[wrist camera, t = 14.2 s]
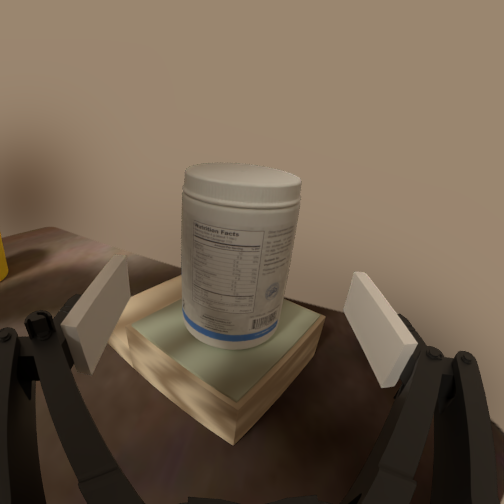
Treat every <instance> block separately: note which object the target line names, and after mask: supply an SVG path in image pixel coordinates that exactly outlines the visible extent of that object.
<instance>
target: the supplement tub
mask: <svg viewBox="0 0 504 504" xmlns="http://www.w3.org/2000/svg"><path fill="white" fill-rule="evenodd" d="M184 180H185V181H184V185H183V193H182V229H181V231H182V232H181V239H182V240H181V275H182V311H183V321H184V324H185V326H186V328H187V329H188V331H189V332H190V333H191V334H192V335H193V336H194V337H195V338H197V339H198V340H200V341H201V342H203V343H205V344H207V345H210V346H213V347H216V348H220V349H227V350H242V349H248V348H252V347H255V346H258V345H260V344H262V343H264V342H265V341H267V340H268V339H269V338H270V337H271V336H272V335H273V334H274V333H275V331H276V329H277V327H278V323H279V319H280V314H281V309H282V304H283V298H284V293H285V288H286V283H287V278H288V272H289V267H290V261H291V255H292V250H293V244H294V239H295V233H296V227H297V221H298V215H299V209H300V200H301V196H300V191H301V183H302V181H301V179H300V178H299V177H298V176H296V175H294V174H291V173H289V172H285V171H282V170H279V169H275V168H270V167H264V166H258V165H250V164H240V163H205V164H197V165H193V166H190V167H188V168H187V169H186V170H185V179H184Z"/></svg>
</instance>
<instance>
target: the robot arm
mask: <svg viewBox="0 0 504 504" xmlns="http://www.w3.org/2000/svg"><path fill="white" fill-rule="evenodd" d="M130 297H131V294H130V285H129V275H128V265H127V255H116V254H115V255H114V256H113V257H112V258H111V259H110V261H109V262H108V263H107V264H106V265H105V267H104V268H103V269H102V270H101V272H100V273H99V274H98V275H97V277H96V278H95V279H94V280H93V282H92V283H91V284H90V285H89V287H88V288H87V289H86V291H85V292H84V293H83V295H78V294H76V295H74V296H73V297H71V298H70V299H68V300H67V302H66V303H65V304H64V307H62V308H61V309H60V311H59V312H58V313H57V315H56V316H55V317H54V319H52V315H51V314H50V313H49V312H47V311H43V310H40V311H35V312H33V313H31V314H30V315H28V316H27V318H26V319H25V323H24V324H25V326H26V329H27V332H28V334H29V337H18V334H17V332H16V331H15V329H13V328H8V327H7V328H3V329H1V330H0V504H46V500H45V495H44V490H43V484H42V478H41V471H40V464H39V455H38V445H37V432H36V408H35V388H36V381H40V382H41V386H42V389H43V393H44V396H45V399H46V402H47V405H48V408H49V411H50V414H51V417H52V420H53V423H54V426H55V428H56V431H57V433H58V436H59V438H60V441H61V443H62V446H63V448H64V450H65V453H66V455H67V457H68V459H69V462H70V464H71V466H72V468H73V470H74V472H75V474H76V476H77V478H78V481H79V483H78V486H79V489H80V491H81V493H82V495H83V497H84V498H85V500H86V502H87V504H145V503H144V502H143V500H142V499H141V498H140V496H139V495H138V494H137V492H136V491H135V489H134V488H133V486H132V485H131V484H130V482H129V481H128V479H127V478H126V476H125V475H124V473H123V471H122V470H121V468H120V467H119V465H118V464H117V462H116V460H115V459H114V457H113V455H112V454H111V452H110V450H109V448H108V447H107V445H106V443H105V441H104V440H103V438H102V436H101V434H100V432H99V430H98V428H97V427H96V425H95V423H94V421H93V419H92V417H91V415H90V413H89V411H88V409H87V406H86V404H85V402H84V400H83V398H82V396H81V393H80V391H79V389H78V386H77V384H76V382H75V379H74V377H73V374H72V372H71V368H72V366H73V364H74V365H75V367H76V370H77V372H78V373H83V374H87V375H91V376H92V374H93V372H94V370H95V367H96V365H97V363H98V361H99V359H100V357H101V355H102V353H103V350H104V348H105V346H106V344H107V342H108V340H109V338H110V336H111V334H112V332H113V330H114V328H115V326H116V324H117V322H118V320H119V318H120V316H121V314H122V313H123V311H124V309H125V307H126V305H127V303H128V301H129V299H130ZM343 311H344V313H345V315H346V317H347V319H348V321H349V323H350V325H351V327H352V329H353V331H354V333H355V335H356V337H357V339H358V341H359V343H360V345H361V347H362V349H363V351H364V353H365V355H366V357H367V359H368V361H369V363H370V365H371V367H372V369H373V371H374V373H375V376H376V378H377V380H378V382H379V384H380V386H381V388H386V387H393V386H395V385H396V383H397V381H398V379H399V378H400V379H401V381H402V385H401V387H400V388H399V390H398V392H397V393H396V395H395V396H394V399H395V401H394V403H393V406H392V408H391V411H390V413H389V415H388V418H387V420H386V422H385V424H384V427H383V429H382V431H381V433H380V435H379V437H378V439H377V441H376V443H375V445H374V447H373V449H372V451H371V453H370V455H369V457H368V459H367V461H366V463H365V465H364V466H363V468H362V470H361V472H360V474H359V475H358V477H357V479H356V480H355V482H354V484H353V486H352V487H351V489H350V491H349V492H348V494H347V495H346V496H345V498H344V499H343V500H342V501H341V502H340V503H339V504H409V503H410V501H411V499H412V496H413V494H414V491H415V489H416V485H417V482H416V481H414V480H413V478H414V475H415V472H416V469H417V466H418V464H419V461H420V458H421V455H422V452H423V449H424V446H425V442H426V439H427V436H428V432H429V429H430V425H431V421H432V418H433V414H434V465H433V480H432V491H431V501H430V504H500V502H499V498H498V495H497V472H496V459H495V450H494V441H493V434H492V428H491V422H490V416H489V411H488V406H487V401H486V396H485V392H484V387H483V383H482V379H481V375H480V371H479V368H478V364H477V361H476V359H475V357H473V355H472V354H470V353H469V352H466V351H459V352H458V353H457V354H456V356H455V357H454V358H446V357H444V355H443V354H442V352H441V351H440V350H438V349H437V348H435V347H431V346H426V344H425V343H424V341H423V340H422V338H421V337H420V336H419V334H418V333H417V332H416V331H415V329H414V328H413V327H412V325H411V323H410V322H409V321H408V320H407V319H406V318H405V317H404V316H402V315H401V314H397V313H396V312H395V311H394V309H393V308H392V307H391V305H390V304H389V303H388V301H387V300H386V299H385V297H384V296H383V295H382V293H381V292H380V291H379V289H378V288H377V287H376V286H375V284H374V283H373V282H372V281H371V279H370V278H369V276H368V275H367V274H366V273H365V272H354V274H353V278H352V282H351V285H350V289H349V292H348V295H347V299H346V302H345V305H344V309H343ZM180 504H239V503H234V502H230V501H226V500H222V499H209V498H197V497H188V502H187V503H180ZM267 504H331V503H328V502H322V501H318V499H317V495H311V496H303V497H293V498H285V499H282V500H278V501H275V502H271V503H267Z"/></svg>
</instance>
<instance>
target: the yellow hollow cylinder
mask: <svg viewBox="0 0 504 504" xmlns="http://www.w3.org/2000/svg"><path fill="white" fill-rule="evenodd" d="M7 274H8V266H7V262H6V258H5V253H4V248H3V244H2V238H1V233H0V281H2V280H3V279H4V278H5V277H6V276H7Z"/></svg>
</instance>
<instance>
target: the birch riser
mask: <svg viewBox="0 0 504 504" xmlns="http://www.w3.org/2000/svg"><path fill="white" fill-rule="evenodd" d="M325 318H326V317H325V316H323V315H321V314H318V313H316V312H314V311H311V310H309V309H307V308H304V307H302V306H300V305H297V304H295V303H293V302H290V301H288V300H286V299H283V304H282V309H281V314H280V319H279V323H278V327H277V329H276V331H275V333H274V334H273V335H272V336H271V337H270V338H269V339H268V340H267V341H265V342H264V343H262V344H260V345H258V346H255V347H252V348H248V349H242V350H227V349H220V348H216V347H213V346H210V345H207V344H205V343H203V342H201V341H200V340H198V339H197V338H195V337H194V336H193V335H192V334H191V333H190V332H189V331H188V329H187V328H186V326H185V324H184V321H183V311H182V275H179V276H177V277H175V278H172V279H170V280H168V281H166V282H163V283H161V284H159V285H157V286H154V287H152V288H150V289H148V290H145V291H143V292H141V293H139V294H136V295H134V296H132V297H130V299H129V301H128V303H127V305H126V307H125V309H124V311H123V313H122V314H121V316H120V318H119V320H118V322H117V324H116V326H115V328H114V330H113V332H112V334H111V336H110V338H109V340H108V342H107V343H108V344H109V345H110V346H111V347H112V348H113V349H114V350H115V351H116V352H117V353H118V354H120V355H121V356H122V357H123V358H124V359H125V360H126V361H127V362H128V363H129V364H130V365H131V366H132V367H133V368H134V369H135V370H136V371H138V372H139V373H140V374H141V375H142V376H143V377H144V378H145V379H146V380H148V381H149V382H150V383H151V384H152V385H153V386H154V387H156V388H157V389H158V390H159V391H160V392H161V393H163V394H164V395H165V396H166V397H168V398H169V399H170V400H171V401H172V402H174V403H175V404H176V405H177V406H179V407H180V408H181V409H183V410H184V411H185V412H186V413H188V414H189V415H190V416H192V417H193V418H194V419H196V420H197V421H198V422H200V423H201V424H202V425H204V426H205V427H207V428H208V429H209V430H211V431H212V432H214V433H215V434H217V435H218V436H220V437H221V438H222V439H224V440H225V441H227V442H228V443H230V444H231V445H233V446H234V445H235V444H236V443H237V442H238V441H239V440H240V439H241V438H242V437H243V436H244V434H245V433H246V432H247V431H248V430H249V429H250V428H251V427H252V426H253V425H254V424H255V423H256V422H257V421H258V420H259V419H260V418H261V417H262V416H263V414H264V413H265V412H266V411H267V410H268V409H269V408H270V407H271V406H272V405H273V404H274V402H275V401H276V400H277V399H278V398H279V397H280V396H281V394H282V393H283V392H284V391H285V390H286V389H287V388H288V386H289V385H290V384H291V383H292V382H293V381H294V379H295V378H296V377H297V376H298V375H299V373H300V372H301V371H302V370H303V368H304V367H305V366H306V365H307V364H308V362H309V361H310V360H311V359H312V357H313V356H314V354H315V351H316V348H317V344H318V341H319V338H320V335H321V331H322V328H323V324H324V321H325Z"/></svg>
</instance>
